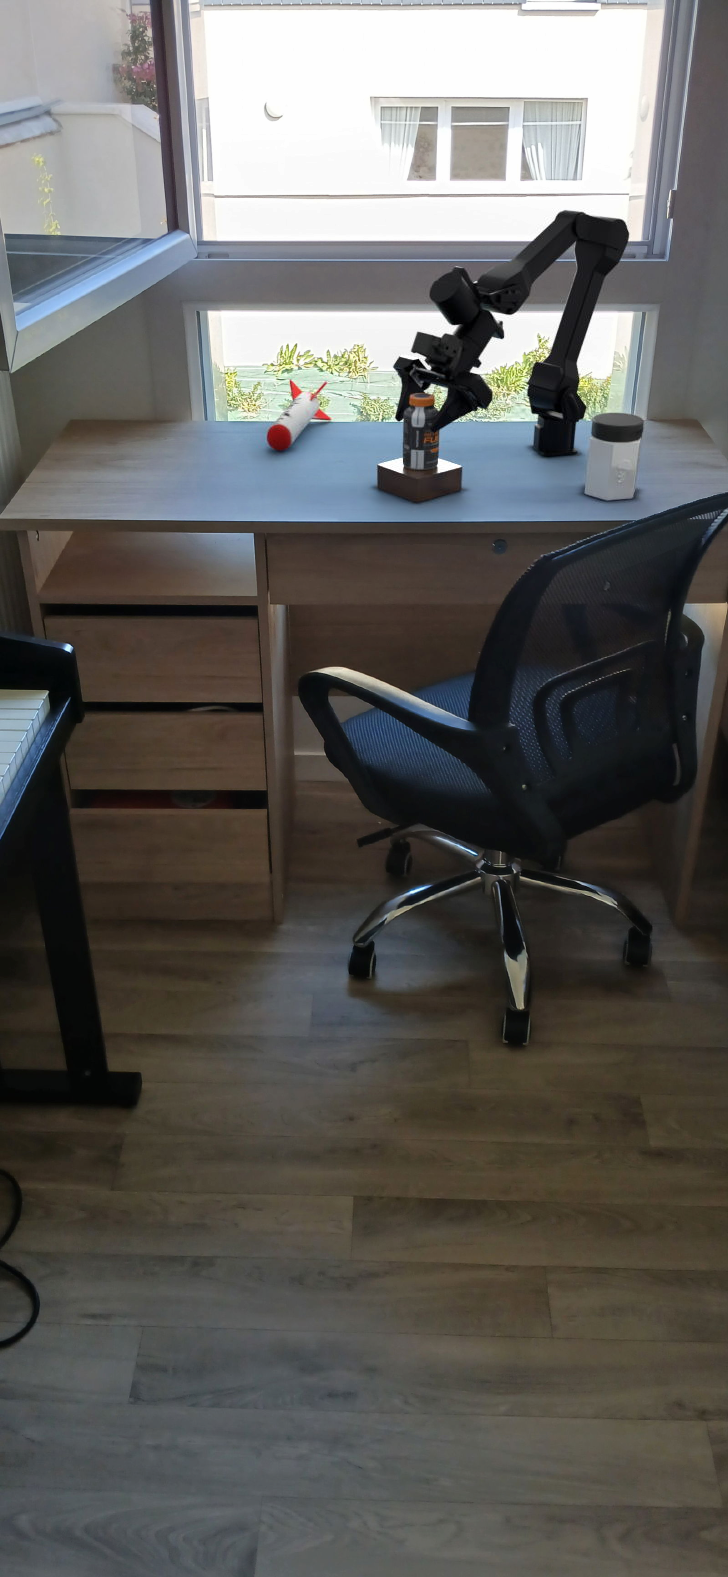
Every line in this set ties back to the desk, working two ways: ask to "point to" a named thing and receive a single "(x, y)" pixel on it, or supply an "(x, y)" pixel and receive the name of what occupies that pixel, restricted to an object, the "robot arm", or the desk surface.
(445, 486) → the block
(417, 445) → the pill bottle
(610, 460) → the jar
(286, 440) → the model rocket
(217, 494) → the desk surface
